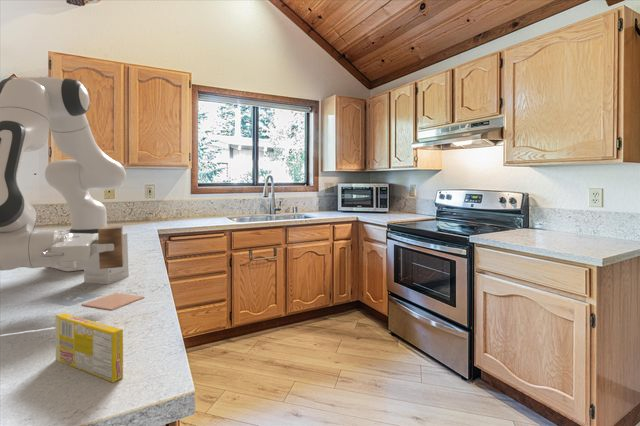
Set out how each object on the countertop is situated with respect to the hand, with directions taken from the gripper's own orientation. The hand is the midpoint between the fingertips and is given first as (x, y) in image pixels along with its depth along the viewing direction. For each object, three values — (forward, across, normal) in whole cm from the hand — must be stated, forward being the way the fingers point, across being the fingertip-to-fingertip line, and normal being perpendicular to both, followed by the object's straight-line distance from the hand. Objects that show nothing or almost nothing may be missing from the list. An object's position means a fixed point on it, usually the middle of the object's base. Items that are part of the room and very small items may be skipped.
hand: (115, 244), depth 92 cm
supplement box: (-4, +25, +15) cm, 30 cm away
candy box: (-2, -35, +16) cm, 39 cm away
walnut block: (-1, 0, +6) cm, 6 cm away
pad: (-1, 0, +15) cm, 15 cm away
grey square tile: (-11, +7, +15) cm, 20 cm away
